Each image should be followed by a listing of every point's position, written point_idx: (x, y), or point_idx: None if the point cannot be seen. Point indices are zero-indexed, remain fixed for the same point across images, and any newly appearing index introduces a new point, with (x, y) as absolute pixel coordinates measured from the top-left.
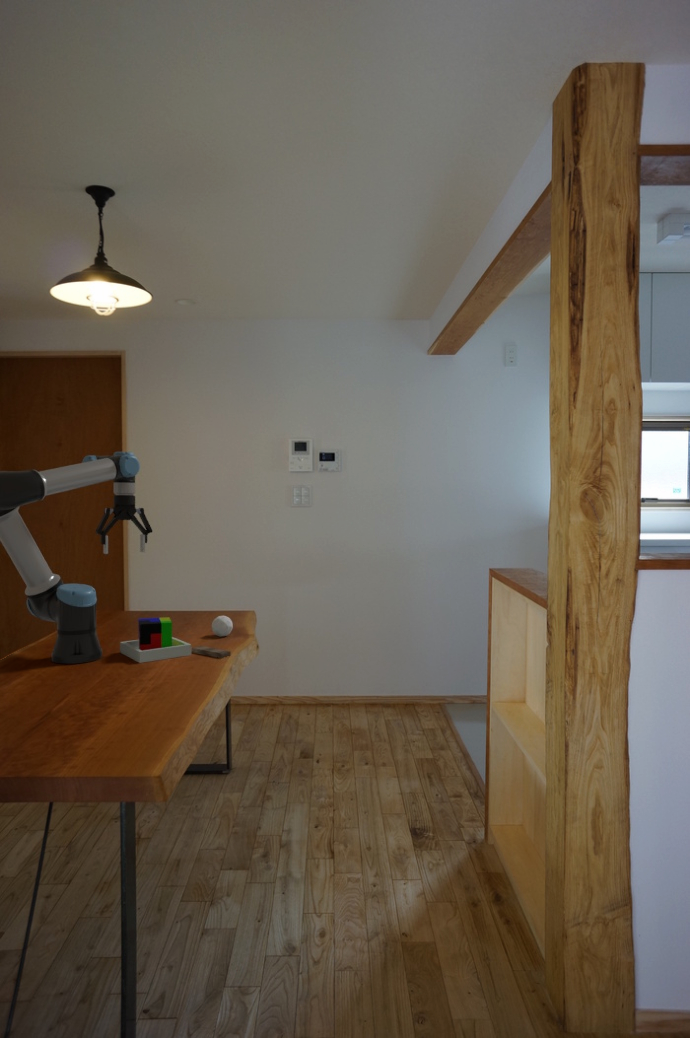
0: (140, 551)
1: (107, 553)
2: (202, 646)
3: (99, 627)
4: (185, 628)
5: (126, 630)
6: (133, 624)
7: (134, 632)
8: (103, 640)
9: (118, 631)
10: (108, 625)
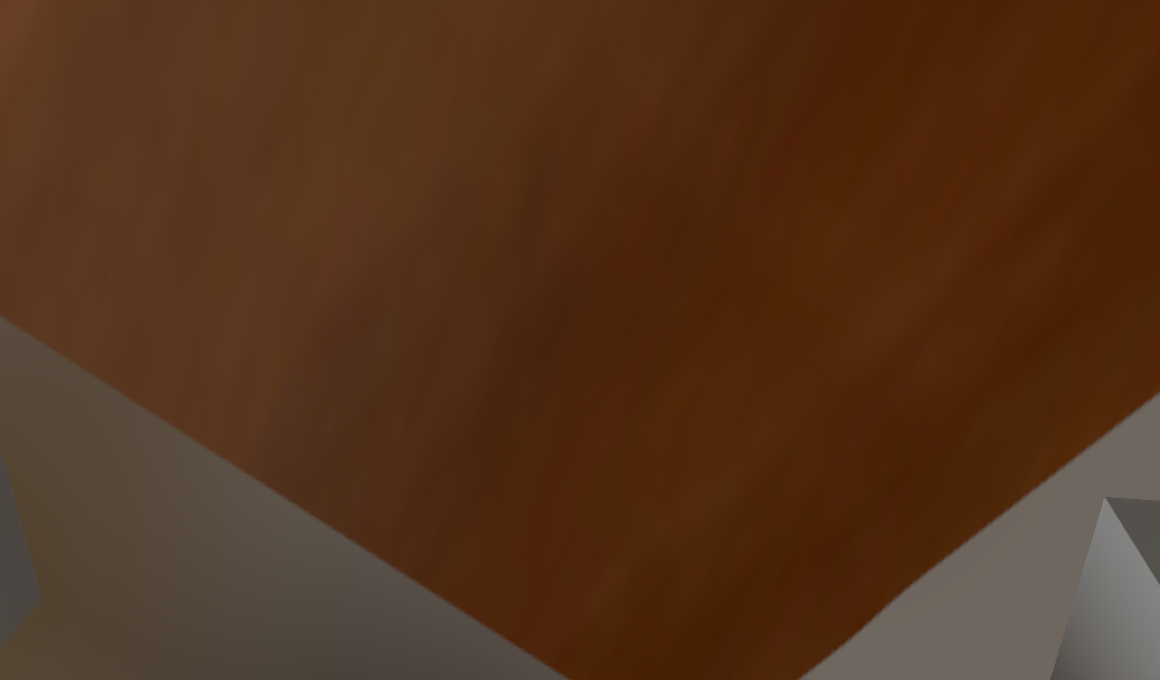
0: (30, 593)
1: (1133, 503)
2: None
3: (624, 577)
4: (32, 130)
5: (495, 360)
6: (370, 529)
7: (469, 247)
8: (816, 98)
9: (563, 363)
10: (541, 601)
